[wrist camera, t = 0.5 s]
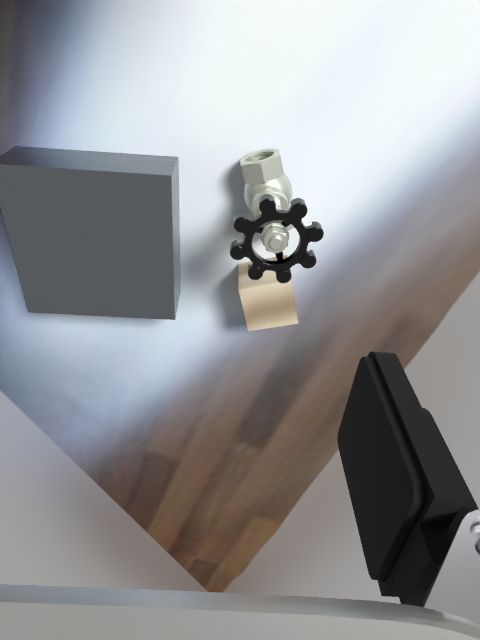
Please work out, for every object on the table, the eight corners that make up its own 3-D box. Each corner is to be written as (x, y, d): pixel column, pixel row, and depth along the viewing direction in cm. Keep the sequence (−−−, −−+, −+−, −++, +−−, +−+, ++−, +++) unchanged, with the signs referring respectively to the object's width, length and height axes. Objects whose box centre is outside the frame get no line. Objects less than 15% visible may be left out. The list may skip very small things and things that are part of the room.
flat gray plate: (15, 146, 38) (-11, 163, 34) (178, 157, 39) (171, 175, 34) (46, 284, 46) (28, 312, 42) (180, 292, 47) (174, 319, 43)
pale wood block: (238, 263, 45) (238, 289, 41) (286, 254, 44) (291, 280, 40) (247, 303, 48) (248, 331, 44) (293, 295, 47) (298, 323, 43)
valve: (240, 226, 42) (241, 293, 33) (222, 158, 39) (216, 211, 29) (308, 210, 42) (330, 273, 32) (295, 138, 38) (316, 186, 28)
